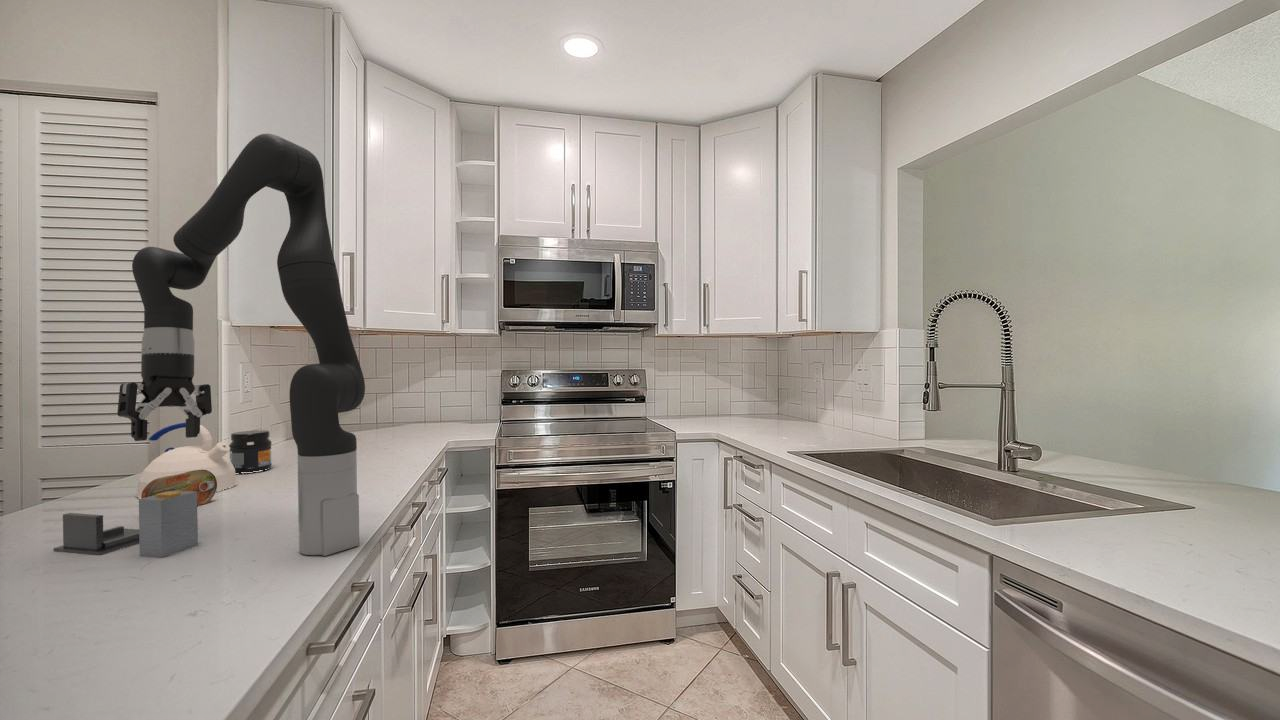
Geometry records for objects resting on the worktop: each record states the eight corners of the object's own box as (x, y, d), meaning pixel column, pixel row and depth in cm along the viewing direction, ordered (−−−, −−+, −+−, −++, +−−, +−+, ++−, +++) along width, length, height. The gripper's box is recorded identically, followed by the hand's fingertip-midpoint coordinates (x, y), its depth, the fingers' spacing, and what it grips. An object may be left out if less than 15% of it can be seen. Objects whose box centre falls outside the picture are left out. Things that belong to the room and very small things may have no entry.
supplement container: (280, 467, 167) (279, 429, 167) (252, 475, 156) (252, 434, 156) (249, 467, 168) (249, 429, 168) (220, 474, 157) (219, 434, 157)
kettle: (195, 500, 129) (194, 427, 129) (111, 501, 129) (110, 427, 129) (256, 481, 149) (255, 417, 149) (184, 481, 149) (183, 418, 149)
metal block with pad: (176, 544, 98) (175, 488, 98) (197, 545, 97) (197, 489, 97) (139, 556, 92) (138, 496, 92) (162, 558, 91) (160, 498, 91)
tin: (149, 519, 113) (149, 480, 113) (138, 519, 114) (137, 480, 114) (218, 500, 128) (218, 466, 128) (208, 500, 129) (207, 466, 129)
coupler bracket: (125, 530, 106) (124, 498, 106) (167, 534, 103) (167, 501, 103) (53, 550, 95) (53, 514, 95) (99, 555, 93) (99, 518, 93)
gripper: (138, 348, 93) (136, 441, 91) (221, 354, 106) (221, 435, 105) (108, 352, 94) (106, 443, 93) (194, 357, 108) (193, 437, 107)
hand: (167, 438), depth 99 cm, fingers open, 8 cm apart
